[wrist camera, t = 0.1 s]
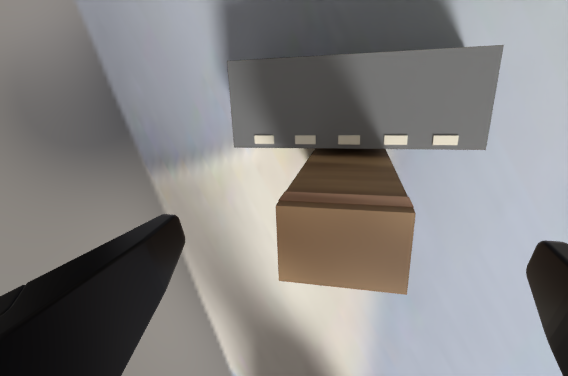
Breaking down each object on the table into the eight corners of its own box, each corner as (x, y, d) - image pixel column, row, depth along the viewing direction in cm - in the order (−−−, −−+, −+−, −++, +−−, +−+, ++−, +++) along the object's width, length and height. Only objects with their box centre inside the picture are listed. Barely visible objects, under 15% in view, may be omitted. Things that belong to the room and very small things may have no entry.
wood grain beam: (380, 184, 22) (407, 295, 10) (318, 182, 23) (278, 281, 11) (382, 143, 22) (416, 212, 9) (318, 143, 23) (274, 205, 10)
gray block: (456, 136, 21) (486, 150, 16) (258, 135, 24) (233, 147, 19) (467, 55, 19) (504, 44, 14) (254, 66, 22) (226, 60, 17)
